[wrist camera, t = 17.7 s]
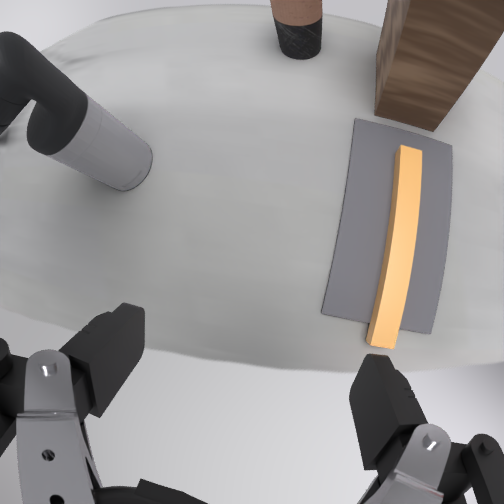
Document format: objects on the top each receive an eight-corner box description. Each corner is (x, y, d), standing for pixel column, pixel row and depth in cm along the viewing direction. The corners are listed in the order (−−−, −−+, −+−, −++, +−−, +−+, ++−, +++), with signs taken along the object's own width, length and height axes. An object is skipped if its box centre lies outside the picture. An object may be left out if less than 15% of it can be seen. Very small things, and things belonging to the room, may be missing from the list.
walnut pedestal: (438, 139, 37) (543, -4, 5) (367, 119, 39) (415, -69, 8) (433, 67, 37) (487, -66, 6) (370, 49, 40) (391, -102, 8)
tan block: (387, 344, 35) (393, 349, 32) (365, 340, 36) (370, 345, 33) (415, 158, 36) (422, 150, 33) (395, 153, 37) (400, 144, 34)
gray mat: (428, 333, 35) (430, 334, 34) (321, 312, 38) (321, 313, 37) (449, 148, 36) (452, 145, 35) (354, 121, 39) (355, 118, 38)
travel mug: (330, 53, 41) (331, -38, 21) (291, 66, 42) (277, -28, 22) (308, 29, 42) (301, -56, 23) (271, 41, 43) (251, -45, 24)
